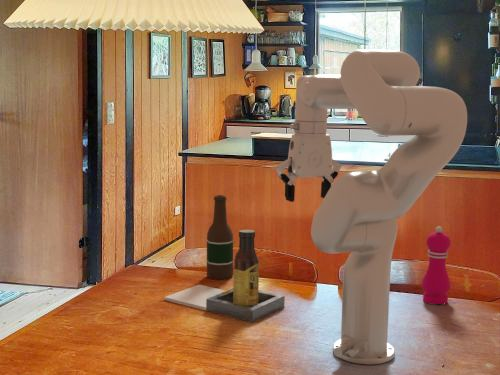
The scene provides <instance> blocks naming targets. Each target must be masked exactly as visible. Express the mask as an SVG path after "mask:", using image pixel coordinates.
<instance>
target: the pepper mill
mask: <svg viewBox="0 0 500 375" xmlns="http://www.w3.org/2000/svg"><path fill="white" fill-rule="evenodd" d="M425 243H426V246H427V248H428V250H427V256H428V258H429V259H428V260H429V261H428V266H427V269H426V271H425V273H424V275H423V278H422V280H421V287H422V290H423V291H424V292H423V293H422V294H423V295H422V301H423V302H424V303H426V304H428V303H430V304H429V305H433V304H444V303H446V304H448V303H449V295H447V294H448V292H449V291H450V290H451V281H450V280H451V279H450V277H449V274H448V271H447V268H446V259H447V258H448V254H449V251H448V250H449V249H450V247H451V238H450V237H449V235H448V234H446V233H444V232H443V227H442V226H440V225H439V226H436V227H435V231H434V232H431V233H430V234H429V235H428V236H427V238H426V242H425ZM444 305H445V304H444Z"/></svg>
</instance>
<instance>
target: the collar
mask: <svg viewBox="0 0 500 375" xmlns="http://www.w3.org/2000/svg"><path fill="white" fill-rule="evenodd" d="M285 298H286V297H285V295H284V294H279V293H274V292H269V291H265V290H260V289H258V304H257V305H255V306H253V307H247V306H243V305H239V304H235V303H234V302H233V288H230V289H227V290H225V291H224V292H222V293H220V294H218V295H215V296H213V297H210V298H208V299H206V310H205V311H206V312H210V313H214V314H218V315H222V316H225V317H230V318H232V319H233V318H234V319H236V320H241V321H245V322H249V323H254V322H257V321H259V320H261V319H264V318H265V317H267V316H270V315H272V314H274V313H275V312H278V311H280V310H281V309H284V308H285V302H286V301H285V300H286V299H285Z"/></svg>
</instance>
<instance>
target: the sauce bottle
mask: <svg viewBox="0 0 500 375" xmlns="http://www.w3.org/2000/svg"><path fill="white" fill-rule="evenodd" d="M238 237H239V240H238V242H239V245H238V251H237V252H236V253H235V256H234V258H233V288H232V289H233V303H235V304H239V305H243V306H247V307H253V306H255V305H258V304H259V303H258V290H259V282H260V280H259V278H260V277H259V276H260V275H259V274H260V262H259V261H260V260H259V259H258V255H257V253H256V249H255V248H256V247H255V237H256V231H255V230H254V229H240V230H238Z"/></svg>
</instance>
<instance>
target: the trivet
mask: <svg viewBox="0 0 500 375" xmlns="http://www.w3.org/2000/svg"><path fill="white" fill-rule="evenodd" d="M224 291H226V290H224V289H221V288H215V287H211V286H206V285H202V284H197V285H193V286H192V287H188V288H186V289H182V290H180V291H177V292H174V293H171V294H168V295H166V296H164V297H163V298H164V301H166V302H171V303H175V304H179V305H184V306H186V307H189V308H194V309H199V310H201V311H202V310H203V311H206V299H208V298H210V297H213V296H215V295H218V294H220V293H222V292H224Z"/></svg>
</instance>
